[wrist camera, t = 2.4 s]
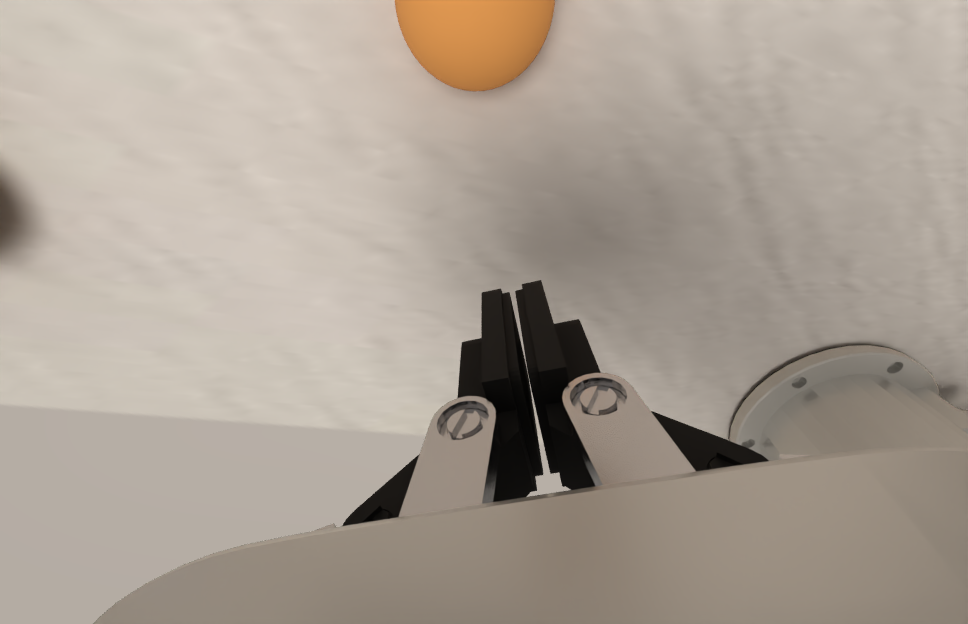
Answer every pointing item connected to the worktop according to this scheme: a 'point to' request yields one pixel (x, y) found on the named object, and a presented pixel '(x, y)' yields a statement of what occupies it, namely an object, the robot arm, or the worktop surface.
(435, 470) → the robot arm
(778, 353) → the worktop surface
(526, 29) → the brown egg
